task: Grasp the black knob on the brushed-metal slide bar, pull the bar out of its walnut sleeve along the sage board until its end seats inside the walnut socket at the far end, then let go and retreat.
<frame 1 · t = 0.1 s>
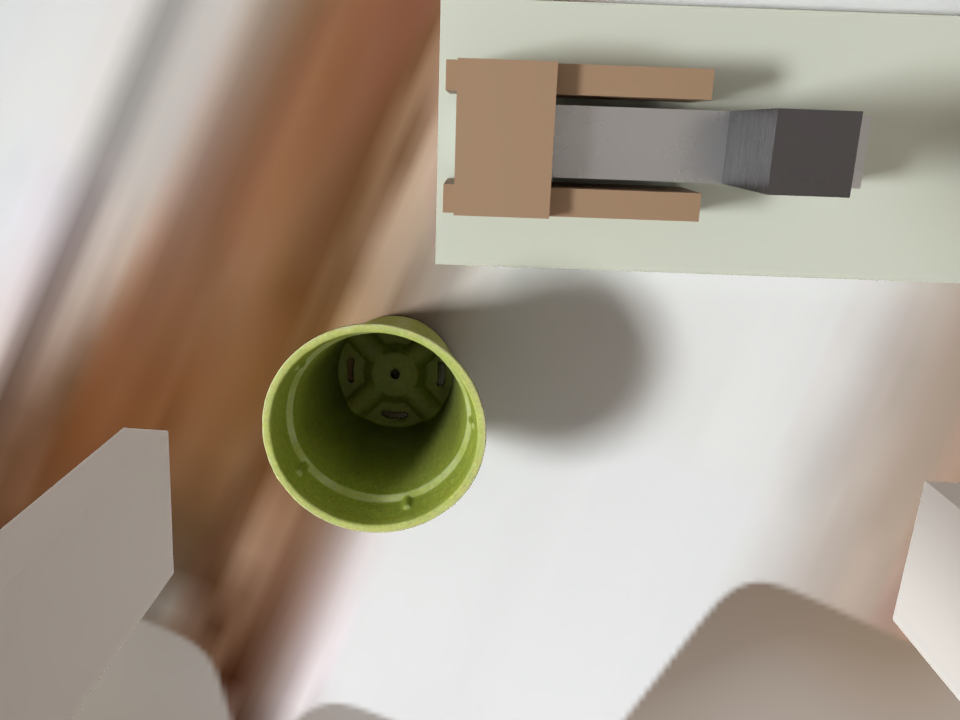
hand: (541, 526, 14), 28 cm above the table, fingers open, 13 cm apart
board: (751, 147, 39), on the table
plant pot: (396, 372, 43), on the table
slide bar: (675, 146, 34), point 6 cm above the table, slide at 0.0 cm
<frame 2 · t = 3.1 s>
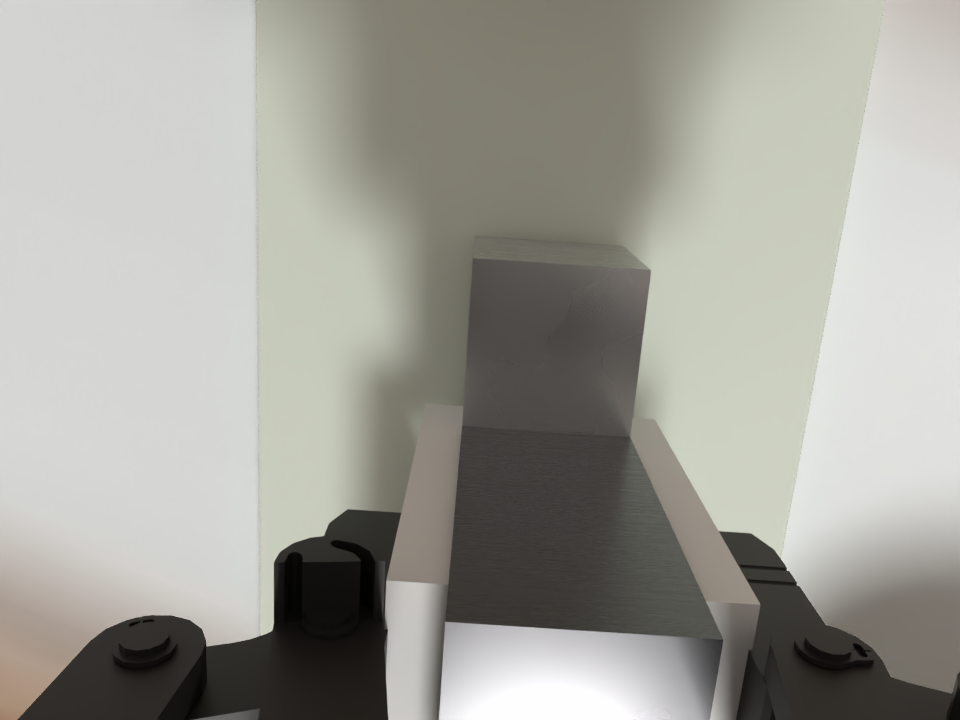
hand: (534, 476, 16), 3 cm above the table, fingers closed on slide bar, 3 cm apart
board: (531, 382, 19), on the table
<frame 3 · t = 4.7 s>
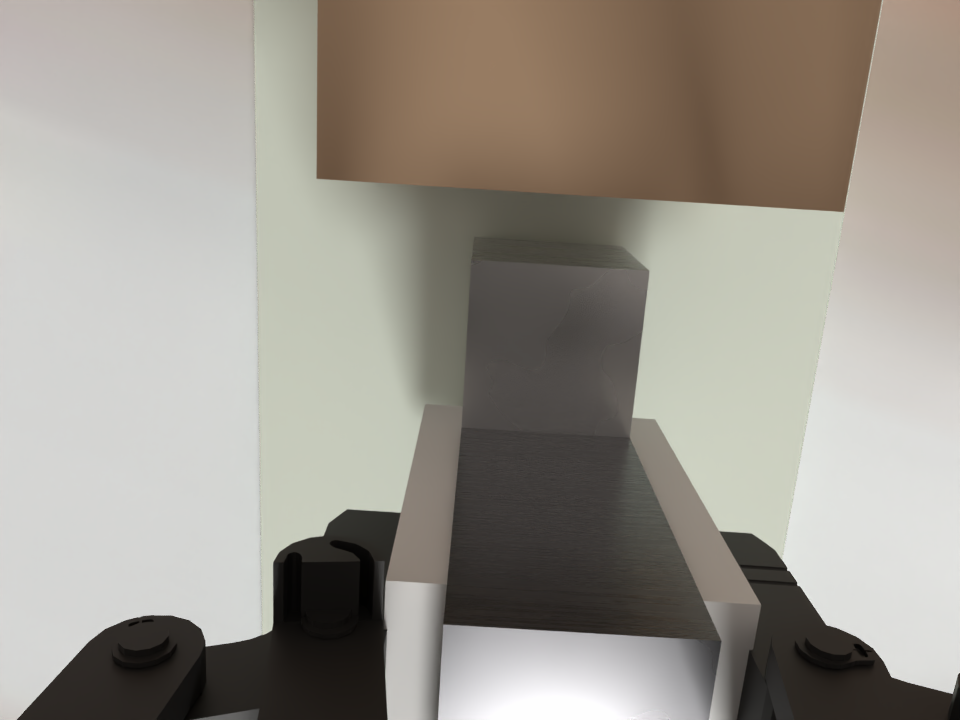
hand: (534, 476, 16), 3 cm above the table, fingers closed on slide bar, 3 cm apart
board: (513, 599, 21), on the table
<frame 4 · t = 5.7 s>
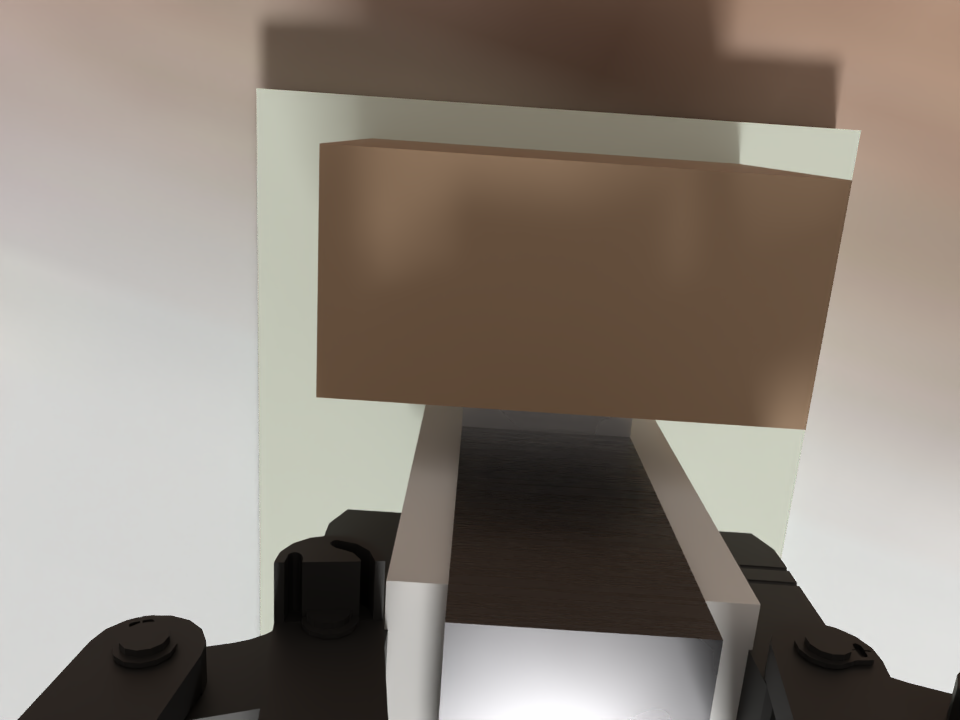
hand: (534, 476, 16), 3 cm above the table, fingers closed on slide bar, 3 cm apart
board: (502, 707, 22), on the table
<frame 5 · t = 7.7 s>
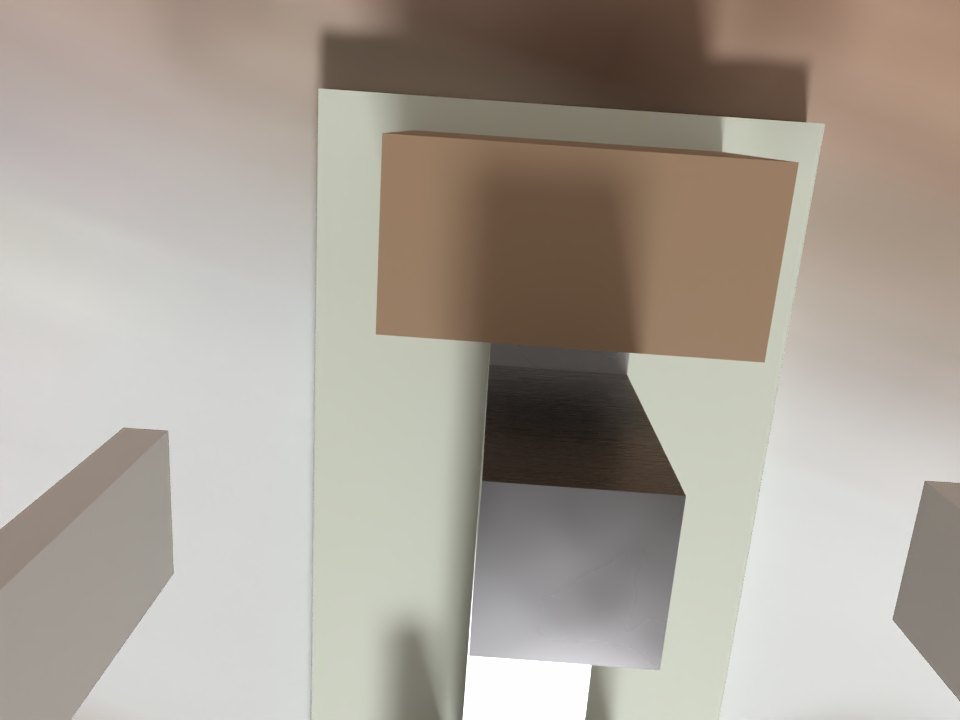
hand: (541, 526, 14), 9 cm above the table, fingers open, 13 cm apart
board: (519, 625, 25), on the table
slide bar: (538, 630, 18), point 6 cm above the table, slide at 9.0 cm
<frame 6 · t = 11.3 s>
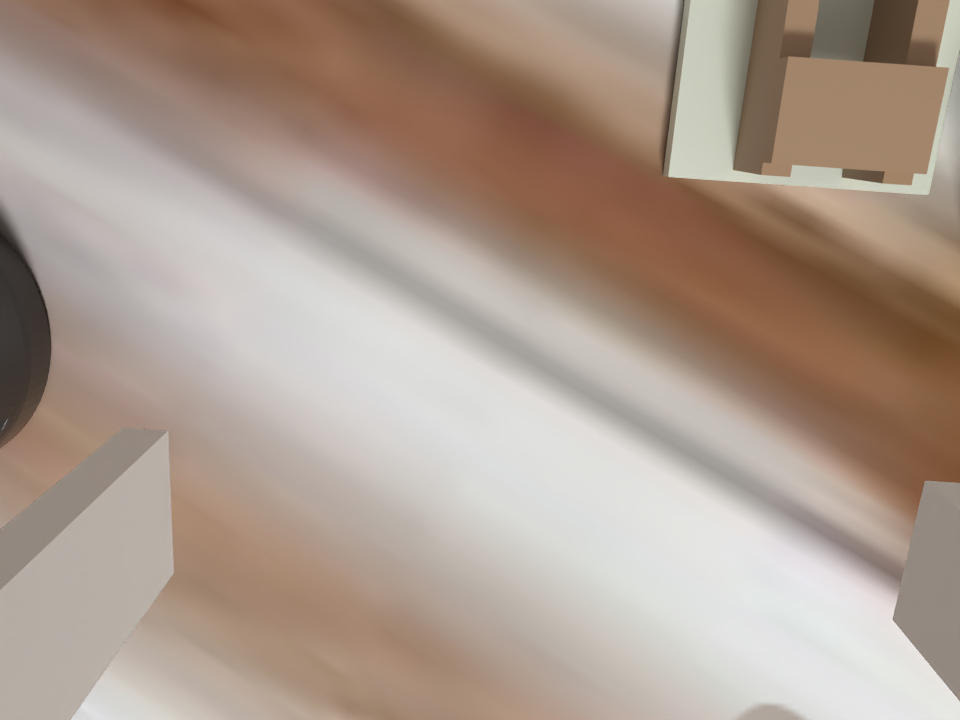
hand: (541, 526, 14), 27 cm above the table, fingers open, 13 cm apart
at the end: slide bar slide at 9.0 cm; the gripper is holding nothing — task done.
